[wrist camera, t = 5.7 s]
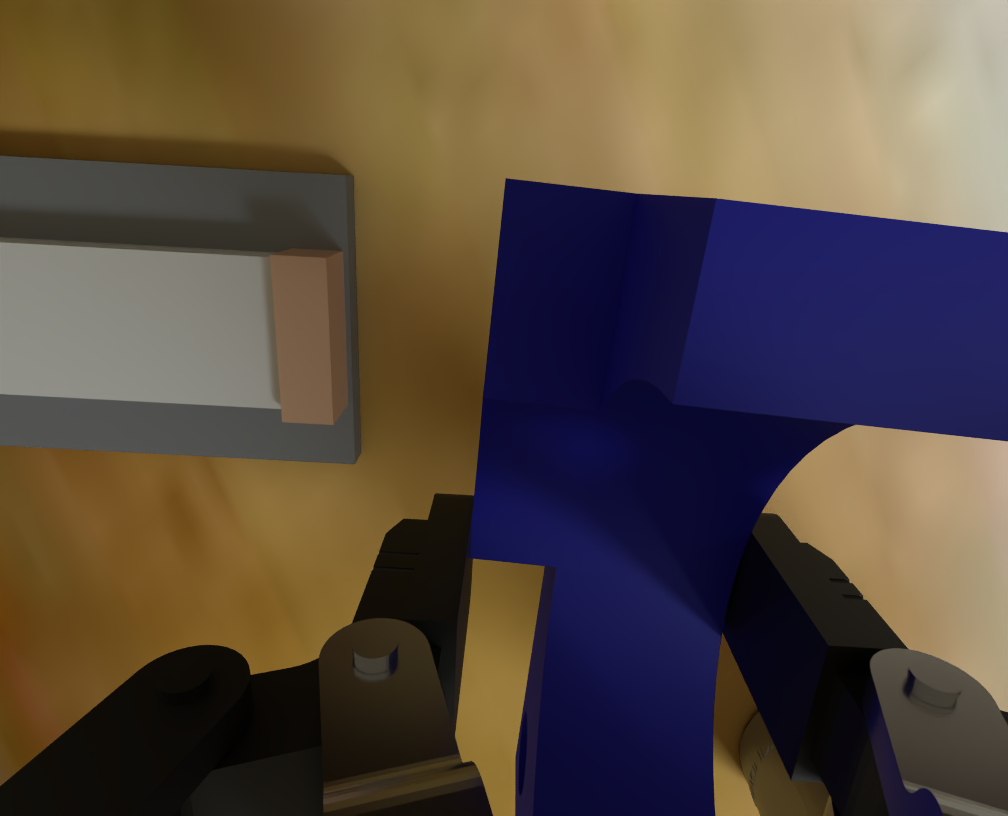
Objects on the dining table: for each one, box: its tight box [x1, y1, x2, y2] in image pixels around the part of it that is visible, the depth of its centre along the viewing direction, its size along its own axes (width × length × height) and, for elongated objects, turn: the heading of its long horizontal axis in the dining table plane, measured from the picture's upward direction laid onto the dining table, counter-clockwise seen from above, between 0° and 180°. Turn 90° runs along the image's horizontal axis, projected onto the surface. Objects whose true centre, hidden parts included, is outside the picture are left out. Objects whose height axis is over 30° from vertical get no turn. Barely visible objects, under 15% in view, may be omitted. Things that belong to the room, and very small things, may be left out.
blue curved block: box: [470, 178, 1008, 816], centre depth 9 cm, size 12×4×6 cm, turn 174°
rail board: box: [0, 156, 361, 464], centre depth 25 cm, size 18×12×4 cm, turn 87°
